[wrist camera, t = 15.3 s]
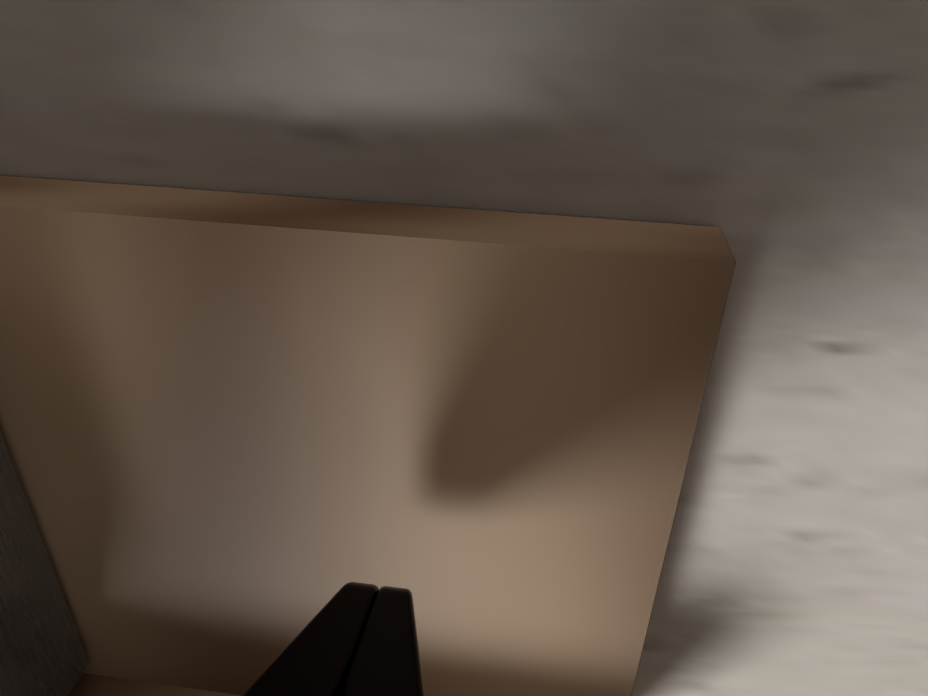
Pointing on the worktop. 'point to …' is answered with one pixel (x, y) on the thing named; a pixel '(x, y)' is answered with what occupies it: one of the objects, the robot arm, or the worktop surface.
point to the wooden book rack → (350, 426)
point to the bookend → (31, 603)
